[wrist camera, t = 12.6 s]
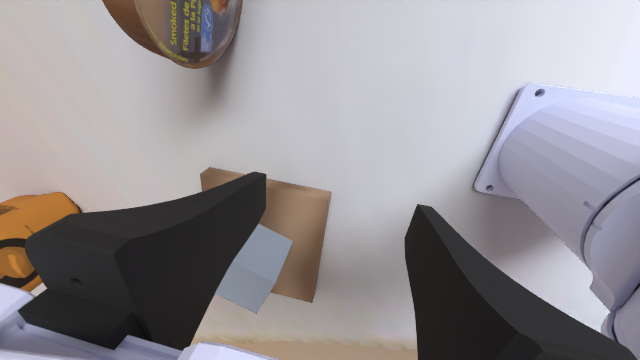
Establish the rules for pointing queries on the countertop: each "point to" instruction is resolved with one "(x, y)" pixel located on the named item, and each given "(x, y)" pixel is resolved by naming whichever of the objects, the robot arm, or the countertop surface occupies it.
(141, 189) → the countertop surface
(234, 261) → the slate cube
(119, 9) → the tin
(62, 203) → the coffee package
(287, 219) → the walnut board
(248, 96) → the countertop surface
